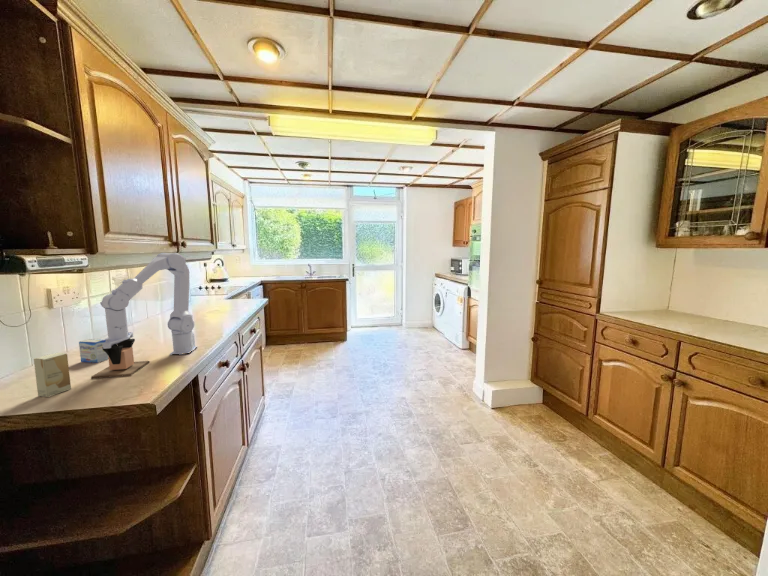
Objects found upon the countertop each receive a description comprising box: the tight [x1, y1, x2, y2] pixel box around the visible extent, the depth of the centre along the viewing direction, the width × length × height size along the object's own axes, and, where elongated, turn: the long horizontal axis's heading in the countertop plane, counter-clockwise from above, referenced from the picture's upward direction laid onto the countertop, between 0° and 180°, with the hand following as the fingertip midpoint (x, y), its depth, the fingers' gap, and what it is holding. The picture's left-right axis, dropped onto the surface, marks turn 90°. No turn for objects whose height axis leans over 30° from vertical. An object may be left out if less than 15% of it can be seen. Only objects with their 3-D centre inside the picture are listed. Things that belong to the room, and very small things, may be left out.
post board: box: [90, 360, 150, 380], centre depth 115 cm, size 13×12×7 cm
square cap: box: [107, 346, 135, 370], centre depth 114 cm, size 5×5×7 cm
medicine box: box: [78, 338, 109, 364], centre depth 124 cm, size 8×4×9 cm, turn 84°
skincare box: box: [33, 352, 72, 398], centre depth 97 cm, size 6×4×12 cm
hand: (121, 361), depth 115 cm, fingers closed on square cap, 5 cm apart
